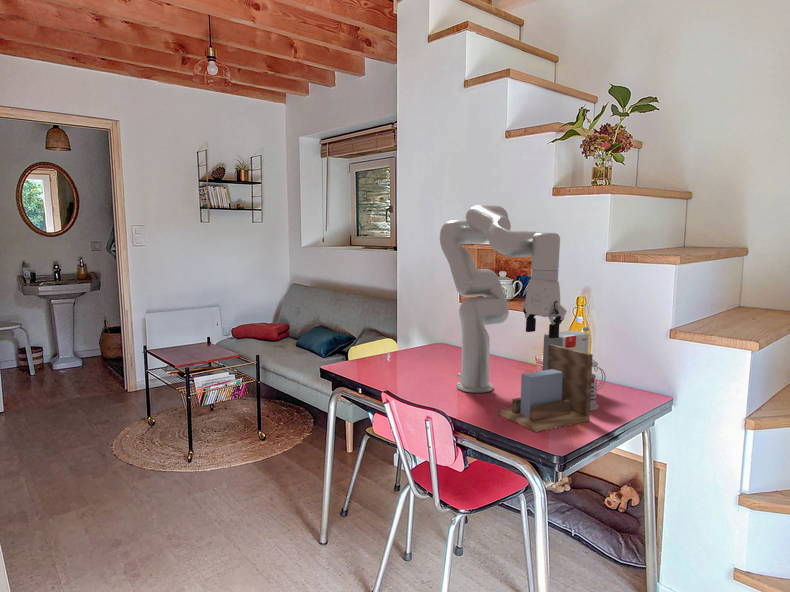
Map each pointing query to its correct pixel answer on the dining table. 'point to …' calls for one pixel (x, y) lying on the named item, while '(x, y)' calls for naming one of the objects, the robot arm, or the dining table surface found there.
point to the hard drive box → (565, 343)
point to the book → (540, 389)
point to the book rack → (573, 393)
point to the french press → (594, 364)
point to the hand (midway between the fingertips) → (541, 334)
